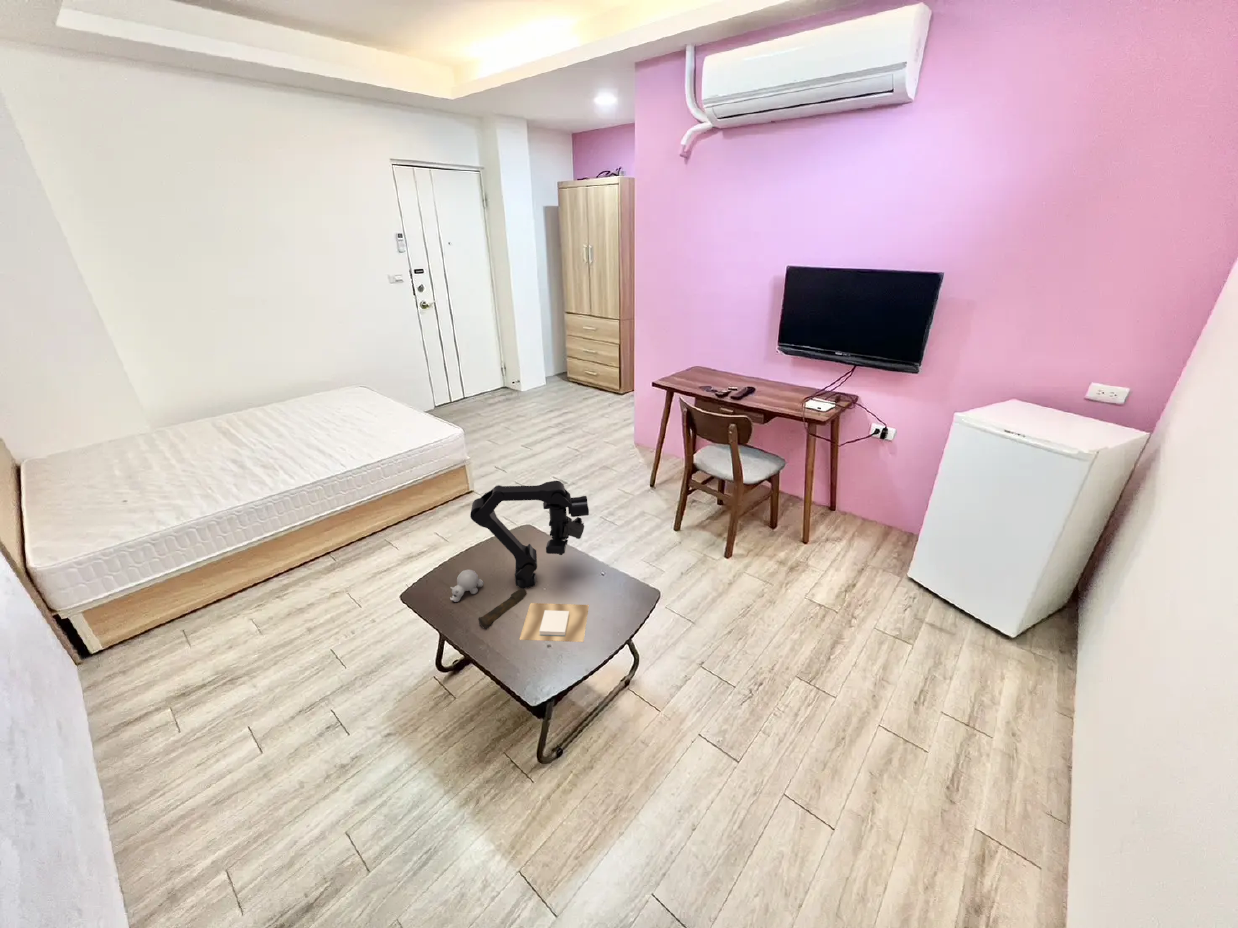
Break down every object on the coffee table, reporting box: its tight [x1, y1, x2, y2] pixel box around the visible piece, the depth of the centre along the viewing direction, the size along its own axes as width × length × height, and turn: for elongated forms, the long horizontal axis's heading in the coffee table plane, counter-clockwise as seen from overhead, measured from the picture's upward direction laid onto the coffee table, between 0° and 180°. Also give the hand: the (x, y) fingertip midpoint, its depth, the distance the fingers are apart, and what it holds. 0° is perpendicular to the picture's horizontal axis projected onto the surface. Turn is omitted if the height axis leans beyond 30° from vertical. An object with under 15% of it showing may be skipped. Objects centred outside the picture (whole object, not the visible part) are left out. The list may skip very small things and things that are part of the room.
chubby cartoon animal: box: [449, 569, 484, 603], centre depth 165 cm, size 7×12×8 cm, turn 142°
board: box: [518, 602, 590, 643], centre depth 153 cm, size 20×16×1 cm
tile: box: [539, 610, 569, 636], centre depth 151 cm, size 8×2×9 cm
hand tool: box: [478, 588, 528, 630], centre depth 158 cm, size 19×4×5 cm, turn 139°
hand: (560, 554), depth 167 cm, fingers closed
